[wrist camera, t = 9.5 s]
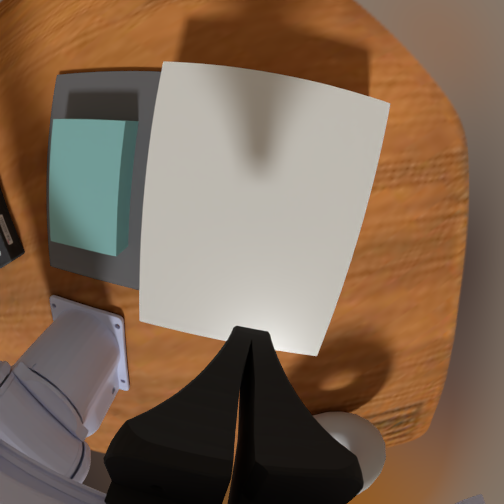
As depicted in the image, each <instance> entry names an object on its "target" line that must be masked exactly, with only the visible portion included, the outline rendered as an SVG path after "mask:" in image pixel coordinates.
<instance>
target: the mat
mask: <svg viewBox="0 0 504 504" xmlns="http://www.w3.org/2000/svg"><path fill="white" fill-rule="evenodd" d="M160 76H161V72H156V71H107V72H87V73H73V74H62V75H57V78H56V84H55V90H54V96H53V104H52V111H51V120H50V130H49V141H48V157H47V228H48V244H49V256H50V266H52V267H55V268H59V269H62V270H66V271H69V272H73V273H76V274H80V275H83V276H87V277H91V278H94V279H98V280H102V281H106V282H109V283H113V284H117V285H121V286H125V287H129V288H133V289H137V290H139V287H140V248H141V228H142V213H143V200H144V188H145V178H146V168H147V160H148V151H149V143H150V136H151V129H152V122H153V116H154V109H155V103H156V98H157V92H158V86H159V81H160ZM53 119H108V120H126V121H139V122H138V129H137V137H136V145H135V153H134V163H133V173H132V184H131V197H130V212H129V234H128V247H127V248H125V249H124V250H123V251H122V252H121V253H120V254H119V255H117V256H111V255H107V254H103V253H98V252H94V251H90V250H86V249H82V248H78V247H73V246H69V245H65V244H61V243H57V242H53V241H51V238H50V217H49V171H50V150H51V137H52V126H53Z"/></svg>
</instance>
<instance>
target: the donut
mask: <svg viewBox="0 0 504 504" xmlns="http://www.w3.org/2000/svg"><path fill="white" fill-rule="evenodd" d="M313 417H314V418H315V419H316V420H317V421H318V422H319V423H320V425H321V426H322V427H323V428H324V429H325V430H326V431H327V432H328V433H329V434H330V435H331V436H332V437H333V438H335V439H336V440H337V441H338V442H339V443H340V444H342V445H343V446H345V447H346V448H347V449H348V450H349V451H351V452H352V453H353V454H355V455H356V456H357V458H358V461H359V464H360V467H361V471H362V475H363V481H364V486H363V488H362V490H361V491H360V492H359V493H361V492H362V491H364V490H366V489H367V488H369V486H370V485H371V484H372V483H373V482H374V481H375V479H376V478H377V477H378V476H379V475H380V473H381V471H382V468H383V465H384V462H385V458H386V454H385V442H384V440H383V438H382V436H381V434H380V431H379V430H378V429H377V428H376V427H375V426H374V425H373V424H372V423H371V422H370V421H368V420H366V419H364V418H362V417H360V416H358V415H356V414H352V413H347V412H325V413H321V414H317V415H313ZM359 493H358V494H359Z"/></svg>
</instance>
